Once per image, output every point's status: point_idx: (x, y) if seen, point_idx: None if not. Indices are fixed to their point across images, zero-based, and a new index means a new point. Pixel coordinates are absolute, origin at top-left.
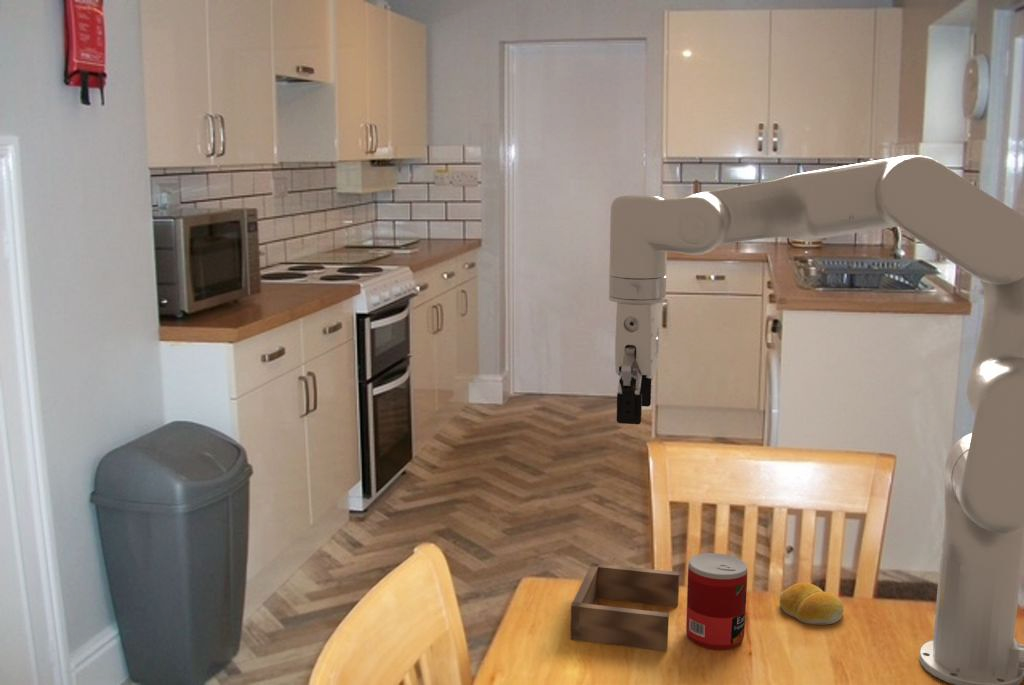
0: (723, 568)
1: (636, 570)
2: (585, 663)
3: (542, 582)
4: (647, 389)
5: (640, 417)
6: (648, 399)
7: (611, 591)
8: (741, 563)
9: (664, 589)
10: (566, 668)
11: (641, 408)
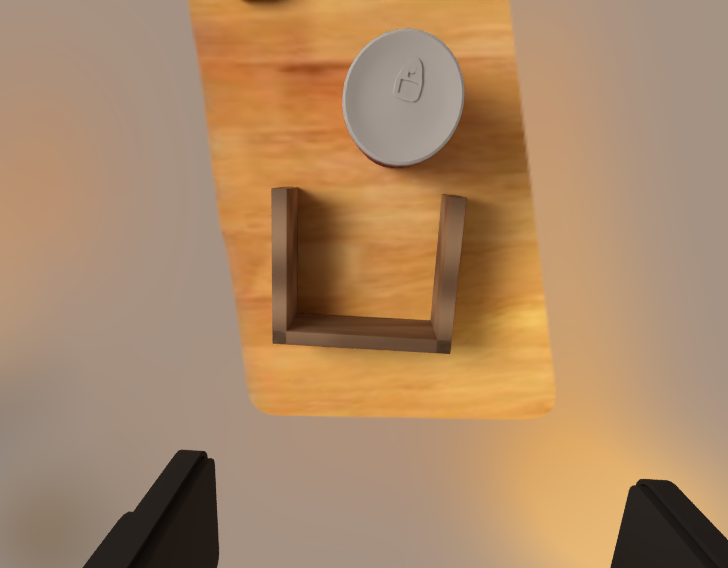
0: (418, 86)
1: (284, 266)
2: (508, 304)
3: (262, 396)
4: (160, 561)
5: (694, 509)
6: (197, 489)
7: (294, 296)
8: (386, 43)
9: (292, 212)
10: (525, 326)
11: (723, 557)
